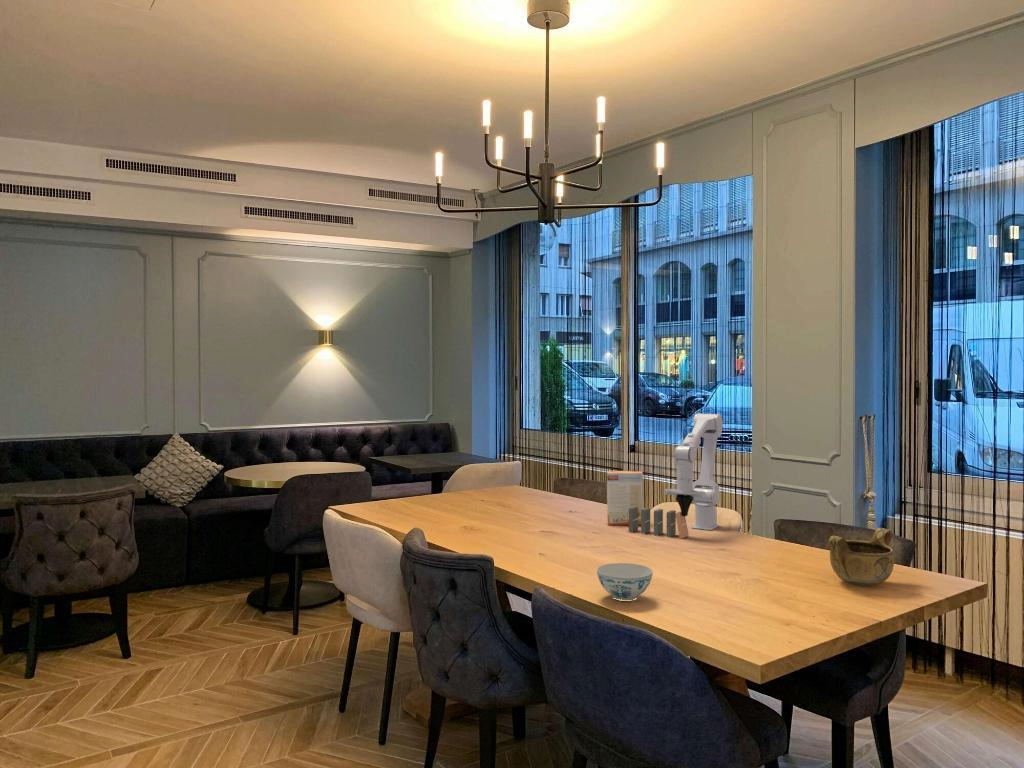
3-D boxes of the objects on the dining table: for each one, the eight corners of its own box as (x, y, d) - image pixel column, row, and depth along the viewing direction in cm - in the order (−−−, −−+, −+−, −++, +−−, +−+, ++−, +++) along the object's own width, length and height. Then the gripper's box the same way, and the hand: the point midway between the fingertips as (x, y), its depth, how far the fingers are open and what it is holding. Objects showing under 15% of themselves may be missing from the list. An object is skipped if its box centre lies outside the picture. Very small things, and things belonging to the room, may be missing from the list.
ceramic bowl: (863, 572, 233) (863, 523, 233) (914, 586, 218) (914, 534, 217) (809, 581, 223) (810, 530, 223) (859, 597, 208) (859, 542, 208)
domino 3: (671, 534, 286) (671, 510, 286) (675, 534, 285) (675, 510, 285) (666, 536, 282) (666, 512, 282) (670, 537, 281) (670, 512, 281)
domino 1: (646, 531, 292) (646, 507, 292) (650, 531, 291) (650, 507, 291) (641, 533, 288) (641, 509, 287) (645, 534, 287) (645, 510, 286)
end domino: (634, 529, 294) (634, 506, 294) (638, 530, 294) (638, 506, 293) (628, 532, 290) (628, 508, 290) (632, 532, 289) (632, 508, 289)
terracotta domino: (684, 535, 284) (680, 511, 284) (688, 535, 283) (684, 511, 283) (679, 538, 279) (675, 513, 280) (684, 538, 278) (679, 513, 279)
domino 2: (658, 532, 289) (658, 508, 289) (663, 533, 288) (663, 509, 288) (653, 535, 285) (653, 510, 285) (657, 535, 284) (658, 511, 284)
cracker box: (642, 522, 307) (642, 470, 306) (643, 526, 301) (643, 472, 300) (606, 522, 308) (606, 470, 308) (607, 525, 302) (607, 472, 302)
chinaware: (663, 597, 209) (663, 569, 208) (633, 610, 198) (632, 580, 197) (617, 587, 219) (617, 560, 218) (585, 599, 207) (585, 570, 207)
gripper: (661, 478, 281) (661, 515, 281) (700, 481, 273) (700, 519, 274) (668, 476, 287) (668, 512, 287) (707, 479, 279) (706, 516, 279)
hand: (684, 515), depth 281 cm, fingers closed
